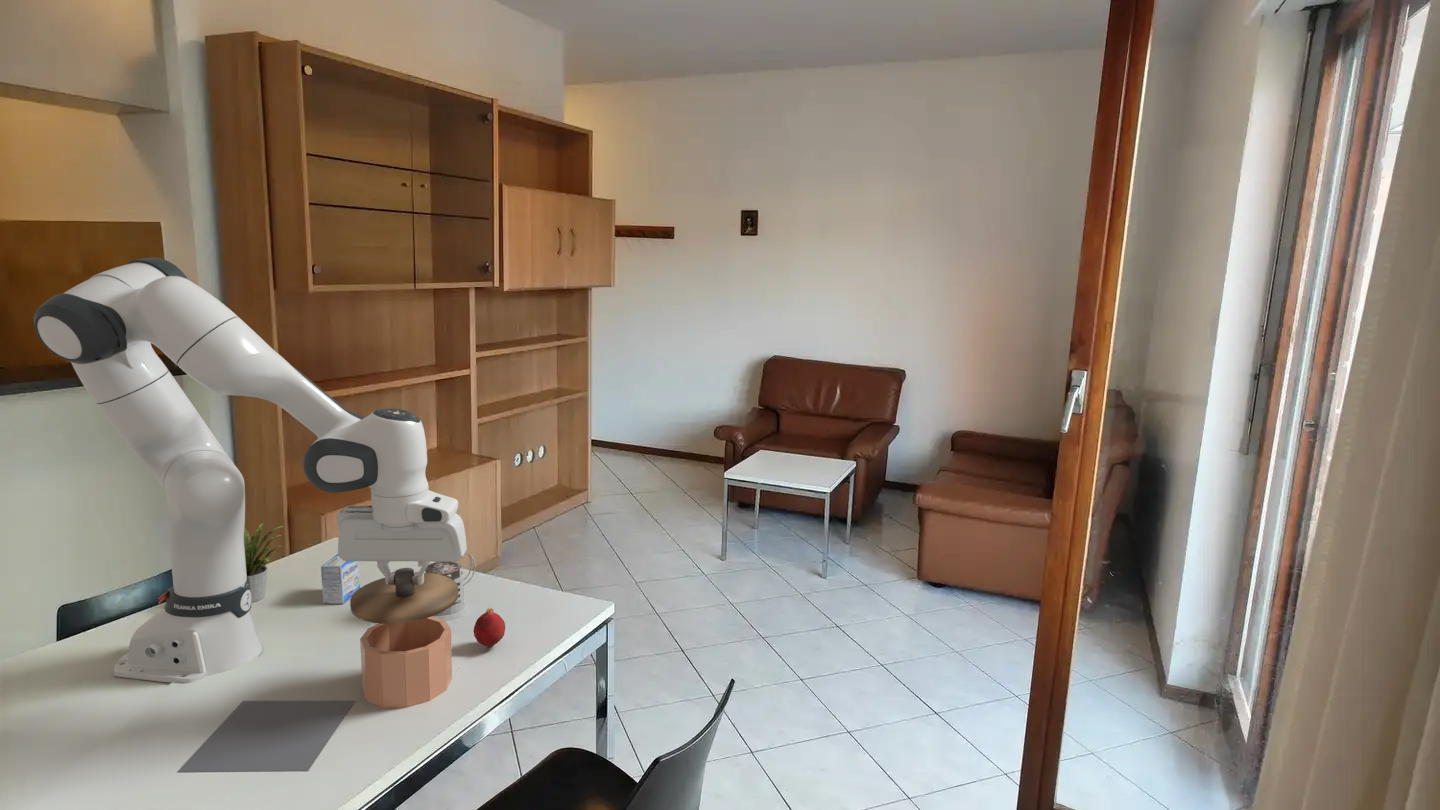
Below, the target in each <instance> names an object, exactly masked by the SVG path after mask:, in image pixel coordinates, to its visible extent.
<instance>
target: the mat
mask: <svg viewBox="0 0 1440 810" xmlns="http://www.w3.org/2000/svg"><path fill="white" fill-rule="evenodd" d="M355 702H356V700H242V701H241V702H240V703H239V705H238V706H236V707H235V709H234V710H232V712H230V714H229V715H228V716H227V717H226V718H225V720H223V722H222V723H221V724H220V725H219V726H218V727H217V728H216V730H214V731H213V732H212V734H210V736H209V737H208V738H207V739H206V740H205V741H204V742H203V743H202V745H200V747H199V748H198V749H197V750H196V751H195V752H194V753H193V754H192V755H191V756H190V757H189V758H188V759H187V761H186V762H184V763H183V765H182V766H181V767H180V768H179V769H178V770H177V772H176V773H234V772H235V773H238V772H239V773H244V772H245V773H246V772H249V773H250V772H251V773H252V772H253V773H254V772H267V773H268V772H308V771H310V769H311V767H312V766H313V765H314V763H315V762H316V760H317V759H318V758H319V755H320V754H321V752H322V751H323V750H324V748H325V747H326V746H327V744H328V743H329V741H330V740H331V738H332V736H333V735H334V733H335V732H336V731H337V730H338V728H339V726H340V725H341V723H342V722H343V720H344V718H345V717H347V715H348V713H349V711H350V710H351V709H352V707H353V705H354V704H355Z"/></svg>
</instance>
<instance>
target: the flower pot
mask: <svg viewBox="0 0 1440 810" xmlns="http://www.w3.org/2000/svg"><path fill="white" fill-rule="evenodd" d="M359 641H360V642H359V643H360V646H359V647H360V662H361V663H360V664H361V665H360V666H361V684H362V687H361V688H362V692H363V696H364V697H365V700H366V702H368V703H370V704H373V705H375V706H379V707H380V708H382V709H383V708H385V709H387V708H388V709H389V708H391V709H392V708H394V709H395V708H398V709H399V708H401V709H403V708H410V707H414V706H417V705H421V704H424V703H428V702H431V701H433V700H434V699H436V698H438V697H439V696H440V695H442V694H443V693H445V692H447V690H448V688H449V687H450V684H451V682H452V681H453V669H452V668H453V666H452V665H453V664H452V663H453V661H452V655H453V654H452V629H451V627H450V625H449V624H448V622H447V621H445V620H443V619H440V618H436V617H433V616H431V617H428V618H425V619H421V620H417V621H412V622H405V623H394V624H382V623H375V624H374V625H373V626H371V627H368V628H367V629H366V631H365V632H364V633H363V635H362V636H361V637H360V638H359Z"/></svg>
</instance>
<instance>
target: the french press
mask: <svg viewBox="0 0 1440 810" xmlns="http://www.w3.org/2000/svg"><path fill="white" fill-rule="evenodd" d="M465 554H466V555H467V556H468V557H469V560H470V566H469V567H470V568H469V571H468V573H467V575H466V577H464V575H463V571H462V570H461V567H462V565H461V564H460V563H459V562H458V561H434V562H432V563H431V562H430V563H429V565H428V567H427V568H426V570H425V573H433V574H439V575H443V576H446V577H449V578H451V579H452V580H454V581H455V582H456V583H457V585H458V598H457V600H456V602H455V603H454V604H453V605H452V606H451V607H449V608H448V609H446V610H445V611H443V612H441V613H439V614H436V615H434V616H433V617H436V618H440V619H443V620H445V621H446V622H447V621H451V620H456V619H459V618H461V617H463V616H464V615H465V614H466V613H468V610H469V607H468V605H467V604H466V603H465V601H464V600H465V597H464V588H465V586H466V585H467V584H468V583H470V582H471V580H472V578H473V577H474V575H475V573H476V572H475V571H476V560H475V558H474V556H473V555H472V554H471V553H469V552H468V551H466V552H465ZM465 554H464V555H465ZM461 559H463V557H462V558H461ZM461 559H460V560H461ZM472 564H473V565H472ZM472 568H473V571H472ZM471 571H472V575H471V577H470V578H469V579H468V580H467V578H468V577H469V576H470V574H471ZM466 580H467V581H466ZM464 581H466V582H465V583H464Z"/></svg>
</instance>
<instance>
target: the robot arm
mask: <svg viewBox="0 0 1440 810" xmlns="http://www.w3.org/2000/svg"><path fill="white" fill-rule="evenodd" d="M33 323H34V329H35V330H34V331H35V333H36V335H37V337H38V339H39V340H40V342H41V343H42V344H43V345H44V347H45V348H46V349H48V351H50V353H52V355H55V357H58V358H60V359H62V360H65V361H67V362H70V363H71V365H72V367H73V370H74V371H75V373H76V375H77V377H78V379H79V380H80V382H81V383H82V385H83V387H84V388H85V391H87V393H88V395H90V397H91V399H93V401H94V403H95V405H97V407H98V408H99V410H101V412H102V413H103V415H104V416H105V417H106V418H107V420H108V421H109V422H110V424H111V425H112V427H113V428H114V429H115V430H116V431H117V432H118V434H119V435H120V436H121V438H122V440H123V441H124V442H125V443H126V445H127V446H128V447H129V448H130V449H131V450H132V451H133V452H134V453H135V455H136V456H137V457H138V458H139V459H140V460H141V461H142V463H143V464H144V465H145V466H146V468H147V469H148V471H150V472H151V474H152V475H153V476H154V478H155V479H156V480H157V481H158V482H159V484H160V486H161V487H162V489H163V491H164V493H165V496H166V500H167V505H168V506H167V508H168V523H169V553H170V554H169V555H170V564H171V574H172V575H171V576H172V583H173V584H172V585H173V586H170V587H169V588H168V589H167V590H165V591H164V593H163V594H162V595H160V596H159V597H158V598H157V599H158V600H159V601H158V604H162V603H164V601H165V602H166V603H165V606H164V607H163V609H161V610H160V611H159V612H157V613H156V614H155V615H153V616H152V617H151V618H149V619H148V620H147V621H145V622H144V623H143V624H142V625H140V627H138V628H137V629H136V630H135V631H134V632H133V634H132V636H131V638H130V641H129V647H128V651H127V652H126V653H125V654H124V655H123V656H121V657H120V658H119V659H118V661H117V662H116V663H115V664H114V667H113V676H114V677H117V678H119V677H120V678H127V679H135V680H142V681H154V682H163V683H170V684H172V683H183V684H190V683H196V682H197V681H200V680H202V679H205V678H207V677H209V676H212V675H216V674H221V673H224V672H227V671H231V670H234V669H237V668H239V667H242V666H243V665H246V664H248V663H250V662H251V661H252V660H254V659H256V658H257V657H259V655H260V654H262V651H263V644H262V642H261V639H260V637H259V635H258V633H257V630H256V626H255V623H254V619H253V618H254V617H253V614H252V603H251V588H250V580H249V577H248V576H247V574H246V561H245V547H246V546H245V547H244V543H245V539H244V535H245V532H244V527H246V526H245V525H246V515H245V514H246V487H245V485H246V484H245V479H244V476H243V474H242V473H241V471H240V470H239V468H238V467H237V466H236V465H235V463H234V461H233V460H232V459H231V458H230V456H229V455H228V453H227V452H226V450H225V449H224V448H223V446H222V445H221V444H220V442H219V441H218V439H217V438H216V436H215V434H213V432H212V431H211V428H210V427H209V426H208V425H207V423H206V422H205V420H204V419H203V418H202V416H201V415H200V414H199V411H198V410H197V409H196V408H195V406H194V405H193V403H192V401H191V400H190V399H189V398H188V396H187V394H186V393H185V391H184V390H183V389H182V387H181V386H180V384H179V383H178V381H177V380H176V379H175V378H174V376H173V374H172V373H171V372H170V370H169V369H168V367H167V366H166V365H165V363H164V362H163V361H162V359H161V358H160V357H159V356H158V354H157V353H156V351H155V350H154V348H153V347H152V345H154V346H155V347H157V348H158V349H159V350H160V351H161V352H162V353H163V354H164V355H165V356H166V357H167V358H168V359H170V360H171V362H173V363H174V364H175V365H176V366H177V367H179V369H181V370H182V372H184V373H185V374H186V375H187V376H189V377H190V378H191V379H193V380H194V381H195V382H197V383H199V384H200V385H202V386H203V387H205V388H206V389H208V390H210V391H211V392H213V393H216V394H219V395H225V396H238V397H239V396H240V397H242V396H243V397H250V398H258V399H262V400H265V401H269V402H270V403H273V404H275V405H277V406H279V407H280V408H281V409H283V410H284V411H285V412H287V413H288V414H289V415H290V416H292V417H293V418H294V419H295V420H296V421H298V422H300V423H301V424H302V425H303V426H304V427H305V428H307V430H310V432H312V433H313V434H314V435H315V436H316V437H317V439H316V440H315V441H314V442H313V443H311V445H310V446H309V447H307V450H306V451H305V453H304V456H303V460H302V467H303V472H304V474H305V477H306V478H307V480H308V481H309V483H311V484H312V485H313V486H314V487H315V488H317V489H318V490H320V491H323V492H326V493H332V494H334V493H335V494H336V493H344V492H346V493H347V492H351V491H356V490H361V489H365V488H369V489H370V494H371V496H370V497H371V505H351V504H350V505H346V506H345V507H343V508H341V509H340V510H338V512H337V514H336V524H337V527H338V529H339V533H338V542H337V554H338V555H339V557H340V558H341V559H342V560H343V561H359V562H376V566H377V568H378V570H379V571H380V573H382V575H383V577H384V578H385V584H386V585H395V571H393V570H392V568H391V567H390V565H389V563H390V562H417V567H418V568H420V567H421V568H420V570H419V571H414V574H413V575H412V580H413V582H412V585H422V584H423V582H424V573H426V571H425V570H426V568H427V567H428V565H429V564H431V562H440V561H441V562H442V561H452V562H454V561H455V562H459V561H460V560H461V558H462V559H463V557H464V555H465V552H467V537H466V529H465V525H464V524H465V523H464V521H463V519H462V517H461V516H460V515H459V514H458V513H457V511H458V509H459V500H458V499H456V498H455V497H452V496H448V495H445V494H442V493H438V492H435V491H432V490H429V489H430V488H429V482H428V479H427V476H426V470H427V465H428V448H427V440H426V433H425V429H424V425H423V422H422V420H421V418H419V416H417V415H416V414H415V413H413V412H410V411H409V410H406V409H400V408H391V407H390V408H378V409H375V410H373V411H372V412H371V413H370V414H368V415H367V416H364V415H362V414H359V413H356V412H354V411H352V410H349V409H348V408H346V407H344V406H343V405H342V404H340V403H339V402H338V401H336V399H334V398H333V397H332V396H330V394H328V393H327V392H326V391H324V390H323V389H322V388H321V387H320V386H319V385H317V384H316V383H315V382H314V381H312V380H311V379H310V378H308V377H307V376H306V375H305V374H304V373H302V372H301V371H300V370H299V369H297V368H296V367H294V366H293V365H292V364H291V363H289V361H287V360H286V359H285V358H284V357H283V356H282V355H281V354H279V353H278V352H277V351H276V350H275V349H273V348H272V347H271V346H270V345H269V344H268V343H267V342H266V341H265V340H264V339H263V338H262V337H260V335H258V333H256V332H255V331H254V329H252V328H251V327H250V326H249V325H248V324H247V323H246V322H245V321H244V320H242V319H241V318H240V317H239V316H238V315H237V314H236V313H235V312H234V311H232V310H231V309H230V308H229V307H228V306H226V304H224V303H223V302H221V300H219V299H218V298H217V297H215V296H213V295H212V294H211V293H210V292H208V291H206V289H203V287H201V286H199V285H197V284H196V283H194V282H193V281H191V280H190V279H189V278H188V277H187V275H186V274H185V273H184V272H183V271H182V270H181V269H180V268H179V267H178V266H177V265H176V264H174V263H172V262H171V261H169V260H167V259H164V258H160V257H144V258H138V259H134V260H131V261H129V262H127V263H126V264H124V265H120V266H116V267H113V268H110V269H107V270H105V271H102V272H100V273H99V272H98V273H96V274H94V275H92V276H91V277H89V279H87V280H85V281H83V282H81V283H78V284H77V285H75V286H74V287H71V288H69V289H68V290H66V291H65V292H63V293H58V294H57V293H56V294H54V295H53V296H52V297H50V298H49V299H48V300H46V301H45V302H43V303H42V304H41V305H40V306H39V307H38V308H37V309H36V310H35V312H34V315H33Z"/></svg>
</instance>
